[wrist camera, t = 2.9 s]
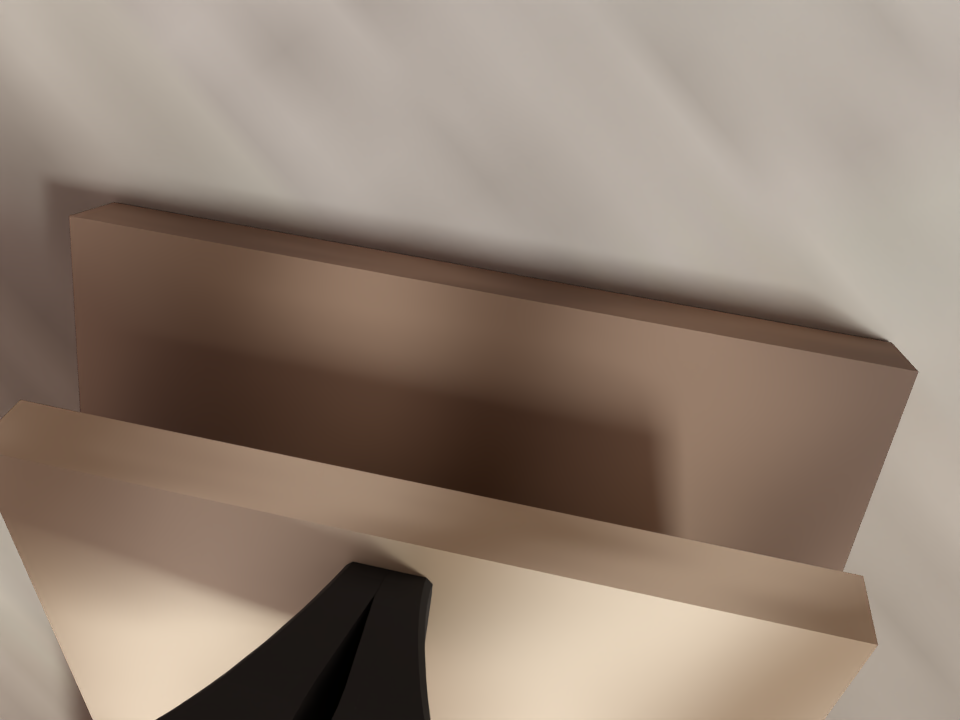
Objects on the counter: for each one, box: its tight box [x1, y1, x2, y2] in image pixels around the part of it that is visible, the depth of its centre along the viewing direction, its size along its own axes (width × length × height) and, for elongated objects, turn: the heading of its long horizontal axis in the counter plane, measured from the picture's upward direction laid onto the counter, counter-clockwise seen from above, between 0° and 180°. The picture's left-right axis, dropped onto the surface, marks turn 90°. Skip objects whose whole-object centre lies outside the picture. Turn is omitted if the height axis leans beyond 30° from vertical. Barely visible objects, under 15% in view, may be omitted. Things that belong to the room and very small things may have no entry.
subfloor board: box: [69, 202, 918, 572], centre depth 19 cm, size 16×20×3 cm
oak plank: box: [0, 400, 878, 720], centre depth 16 cm, size 14×10×1 cm
